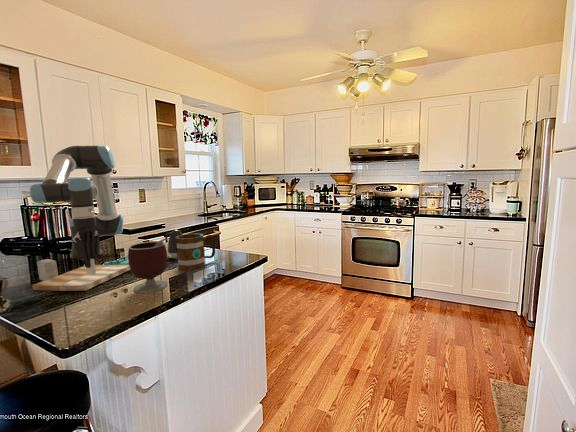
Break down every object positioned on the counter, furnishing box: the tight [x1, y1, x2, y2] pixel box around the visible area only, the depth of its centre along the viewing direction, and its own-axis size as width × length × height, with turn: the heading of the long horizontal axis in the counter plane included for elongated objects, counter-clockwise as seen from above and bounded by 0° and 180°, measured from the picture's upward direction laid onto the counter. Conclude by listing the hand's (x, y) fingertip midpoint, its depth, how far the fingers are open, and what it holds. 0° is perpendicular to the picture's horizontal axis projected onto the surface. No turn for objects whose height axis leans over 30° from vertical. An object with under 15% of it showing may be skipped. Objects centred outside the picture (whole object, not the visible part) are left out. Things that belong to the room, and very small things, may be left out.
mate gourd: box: [127, 237, 169, 294], centre depth 122 cm, size 16×14×20 cm
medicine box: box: [36, 258, 59, 282], centre depth 137 cm, size 8×4×9 cm, turn 59°
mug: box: [176, 233, 216, 272], centre depth 151 cm, size 20×14×15 cm
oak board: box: [31, 264, 109, 292], centre depth 138 cm, size 28×12×2 cm, turn 171°
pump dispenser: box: [165, 229, 184, 259], centre depth 167 cm, size 10×10×15 cm
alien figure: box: [103, 257, 129, 265], centre depth 164 cm, size 20×2×20 cm
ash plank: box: [59, 264, 131, 292], centre depth 136 cm, size 28×12×2 cm, turn 171°
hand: (91, 274), depth 126 cm, fingers closed
